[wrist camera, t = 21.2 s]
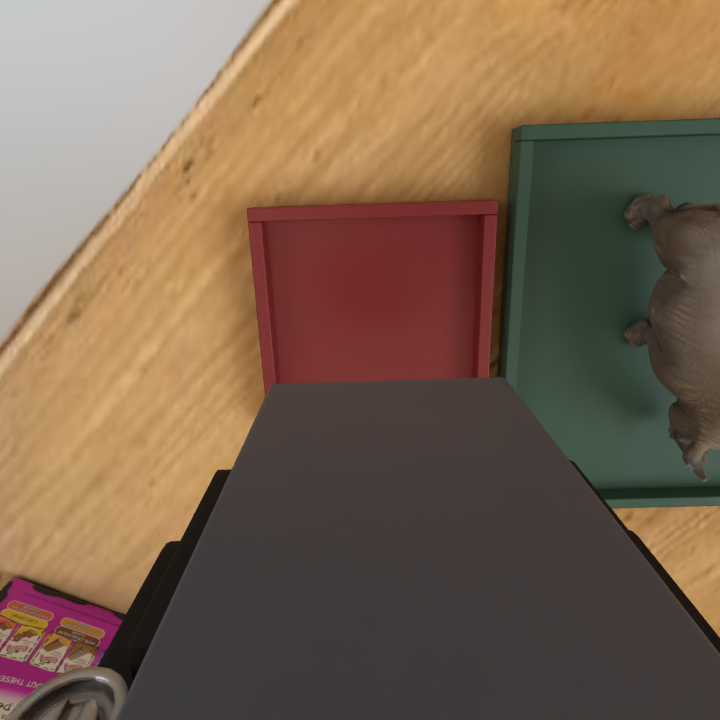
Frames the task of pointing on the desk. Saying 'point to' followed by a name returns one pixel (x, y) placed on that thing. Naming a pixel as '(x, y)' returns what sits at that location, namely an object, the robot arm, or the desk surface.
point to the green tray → (600, 297)
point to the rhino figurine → (684, 319)
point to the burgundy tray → (374, 290)
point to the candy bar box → (46, 638)
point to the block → (417, 575)
